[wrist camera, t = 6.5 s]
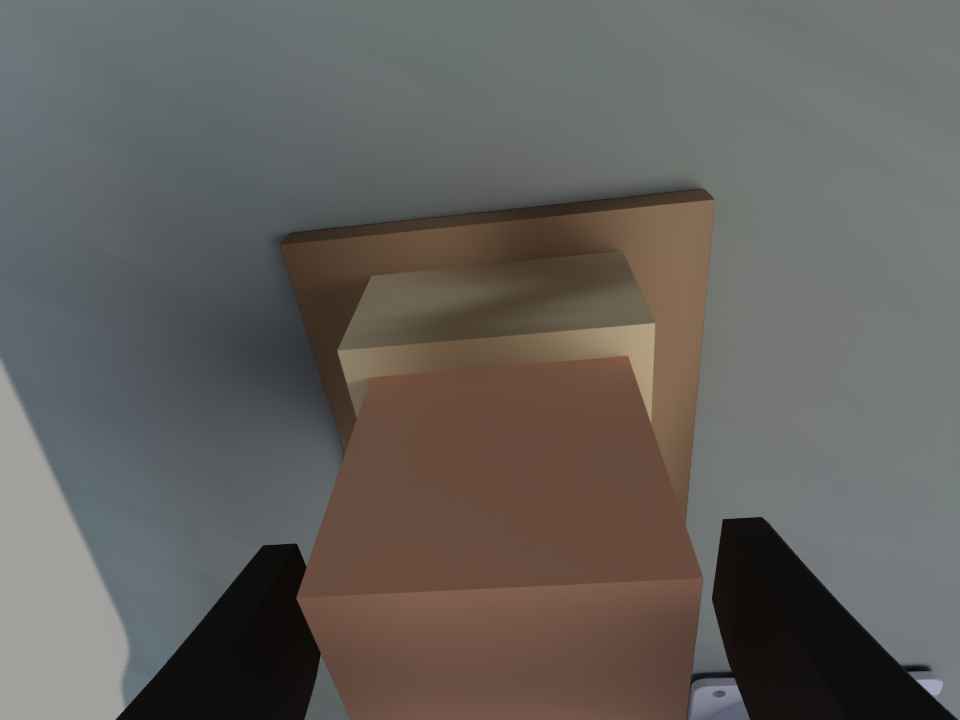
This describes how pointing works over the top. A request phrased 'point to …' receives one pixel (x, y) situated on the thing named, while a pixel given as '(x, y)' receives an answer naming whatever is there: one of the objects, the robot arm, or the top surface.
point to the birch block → (500, 319)
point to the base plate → (519, 237)
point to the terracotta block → (505, 552)
